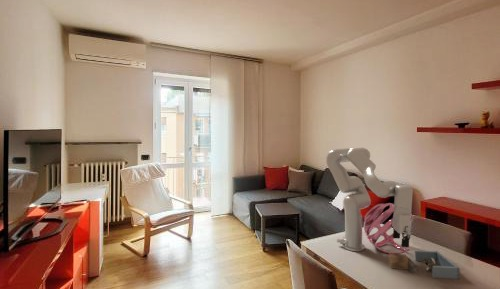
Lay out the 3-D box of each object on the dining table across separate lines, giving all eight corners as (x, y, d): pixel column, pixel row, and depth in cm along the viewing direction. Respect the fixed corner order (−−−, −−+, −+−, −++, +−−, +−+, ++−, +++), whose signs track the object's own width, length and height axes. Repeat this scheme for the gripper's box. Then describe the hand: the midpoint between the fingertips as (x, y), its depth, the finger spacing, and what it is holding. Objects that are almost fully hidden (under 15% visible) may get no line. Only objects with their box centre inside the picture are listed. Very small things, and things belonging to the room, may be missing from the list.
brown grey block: (394, 272, 128) (394, 260, 128) (385, 261, 139) (385, 250, 139) (416, 273, 127) (416, 261, 127) (405, 262, 138) (405, 250, 138)
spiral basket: (439, 223, 139) (396, 187, 157) (402, 245, 129) (361, 204, 148) (416, 250, 157) (381, 215, 176) (382, 271, 147) (348, 231, 166)
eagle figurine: (415, 264, 134) (426, 270, 125) (422, 252, 134) (433, 257, 125) (429, 273, 133) (441, 279, 124) (436, 260, 133) (448, 266, 124)
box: (433, 277, 123) (433, 267, 123) (414, 259, 141) (414, 250, 140) (459, 278, 122) (459, 268, 122) (437, 260, 139) (437, 251, 139)
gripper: (387, 203, 141) (386, 234, 142) (402, 215, 124) (400, 250, 125) (402, 204, 140) (400, 235, 142) (419, 216, 123) (417, 251, 124)
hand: (400, 242), depth 133 cm, fingers open, 9 cm apart
